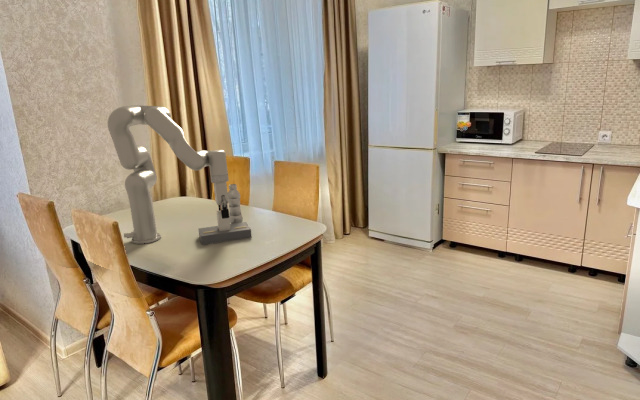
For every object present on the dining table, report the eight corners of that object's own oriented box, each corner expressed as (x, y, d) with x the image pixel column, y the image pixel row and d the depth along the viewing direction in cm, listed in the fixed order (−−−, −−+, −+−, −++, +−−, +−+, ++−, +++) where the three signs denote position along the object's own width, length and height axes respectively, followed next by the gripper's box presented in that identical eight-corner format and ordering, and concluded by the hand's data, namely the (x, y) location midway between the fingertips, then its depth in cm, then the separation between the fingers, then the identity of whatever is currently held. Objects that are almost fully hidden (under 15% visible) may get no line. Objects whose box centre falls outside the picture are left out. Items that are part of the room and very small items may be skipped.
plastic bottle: (240, 226, 217) (236, 186, 212) (227, 225, 218) (223, 186, 213) (245, 222, 223) (241, 183, 218) (232, 221, 225) (228, 183, 220)
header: (201, 245, 193) (200, 235, 192) (199, 236, 204) (198, 227, 203) (251, 237, 200) (250, 228, 199) (246, 229, 211) (245, 221, 210)
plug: (220, 238, 199) (216, 204, 195) (219, 236, 203) (215, 202, 199) (231, 237, 201) (228, 203, 197) (230, 234, 204) (226, 201, 200)
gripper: (209, 176, 202) (213, 212, 206) (213, 182, 186) (218, 221, 190) (225, 174, 204) (229, 209, 208) (231, 180, 188) (235, 219, 192)
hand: (224, 215), depth 199 cm, fingers open, 9 cm apart
